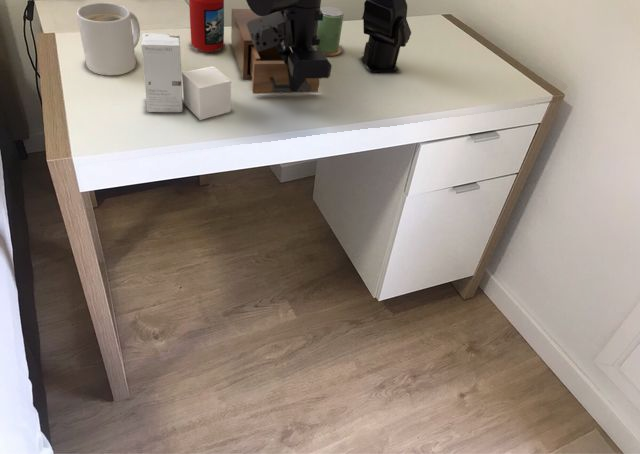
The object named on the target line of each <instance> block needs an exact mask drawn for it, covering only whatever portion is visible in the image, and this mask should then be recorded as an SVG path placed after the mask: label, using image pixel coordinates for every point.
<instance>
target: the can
mask: <svg viewBox="0 0 640 454" xmlns="http://www.w3.org/2000/svg"><path fill="white" fill-rule="evenodd" d="M320 10H321V12H322V13H323V21H318V29H317V35H318V37H319V39H320V44H319V45H314V47H315V48H316V49H317V50H321V51H322V52H325V53H334V52H336V51H338V48H339V46H340V42H341V36H342V35H341V33H342V28H343V23H344V21H343V20H344V15H345V14H344V12H343V11H342V10H341V9H340V8H338V7H334V6H333V7H332V6H323V7H320Z"/></svg>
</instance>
